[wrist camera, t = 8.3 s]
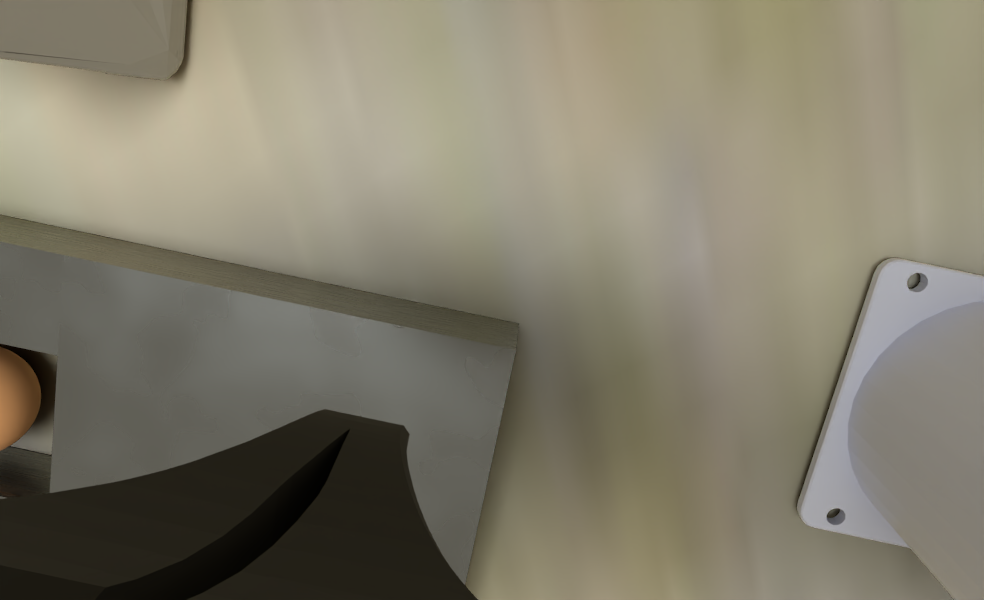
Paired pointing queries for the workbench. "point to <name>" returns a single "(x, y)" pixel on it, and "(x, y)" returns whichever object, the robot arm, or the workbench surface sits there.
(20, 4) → the electrical switch
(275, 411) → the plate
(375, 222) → the workbench surface
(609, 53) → the workbench surface
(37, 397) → the ball
